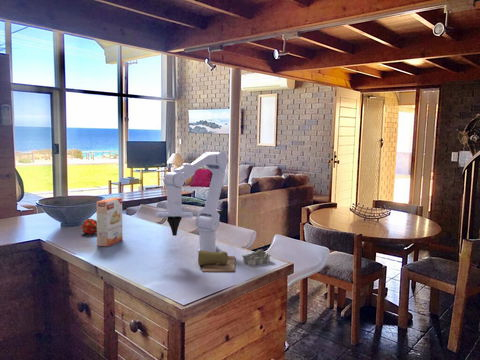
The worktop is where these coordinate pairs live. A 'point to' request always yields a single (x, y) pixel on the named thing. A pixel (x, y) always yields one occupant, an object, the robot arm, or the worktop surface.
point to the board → (221, 266)
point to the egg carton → (256, 257)
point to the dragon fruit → (89, 226)
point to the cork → (212, 257)
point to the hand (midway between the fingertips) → (174, 235)
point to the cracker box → (109, 221)
